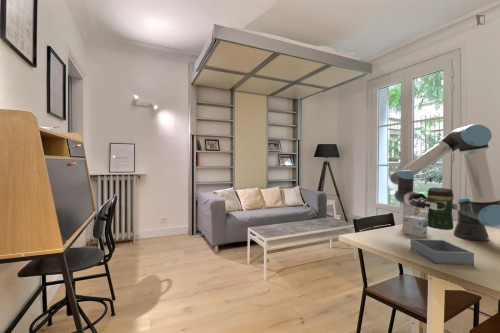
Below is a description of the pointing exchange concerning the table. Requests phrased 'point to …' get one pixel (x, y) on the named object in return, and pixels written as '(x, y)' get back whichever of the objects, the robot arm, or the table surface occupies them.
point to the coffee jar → (440, 208)
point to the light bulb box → (415, 226)
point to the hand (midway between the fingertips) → (447, 207)
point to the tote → (442, 252)
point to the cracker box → (410, 211)
